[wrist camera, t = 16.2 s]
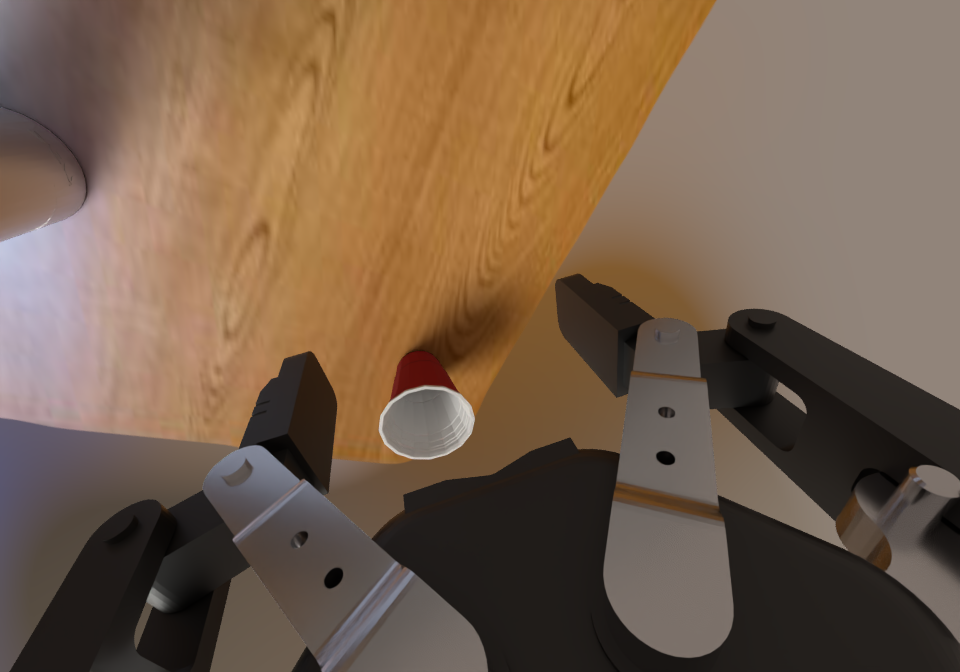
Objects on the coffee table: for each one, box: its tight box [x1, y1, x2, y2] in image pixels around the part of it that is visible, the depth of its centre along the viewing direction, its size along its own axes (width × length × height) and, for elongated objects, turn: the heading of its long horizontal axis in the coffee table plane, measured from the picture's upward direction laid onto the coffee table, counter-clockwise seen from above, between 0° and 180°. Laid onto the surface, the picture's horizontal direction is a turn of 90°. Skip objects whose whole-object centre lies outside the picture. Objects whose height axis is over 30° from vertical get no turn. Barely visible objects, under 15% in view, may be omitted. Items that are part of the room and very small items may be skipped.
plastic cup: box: [379, 351, 475, 459], centre depth 47 cm, size 11×11×12 cm
